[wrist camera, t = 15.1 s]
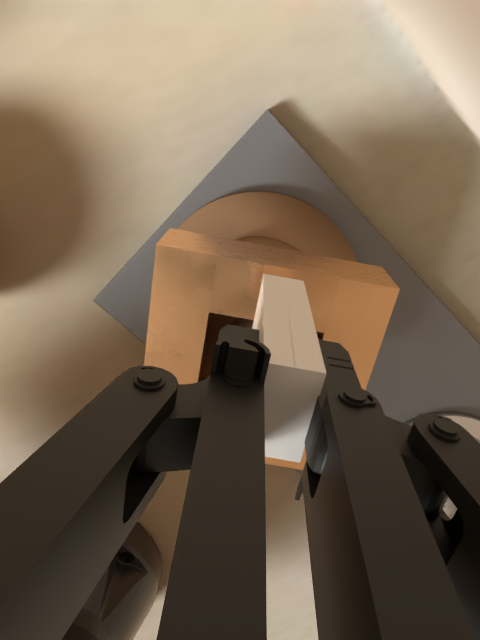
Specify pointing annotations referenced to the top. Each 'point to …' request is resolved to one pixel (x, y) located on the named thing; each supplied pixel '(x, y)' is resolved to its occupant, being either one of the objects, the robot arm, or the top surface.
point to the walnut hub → (265, 236)
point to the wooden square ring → (242, 296)
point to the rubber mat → (369, 248)
